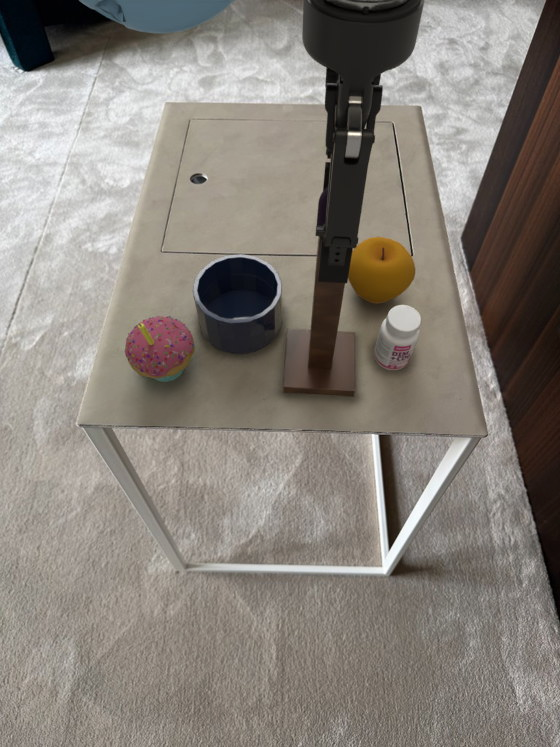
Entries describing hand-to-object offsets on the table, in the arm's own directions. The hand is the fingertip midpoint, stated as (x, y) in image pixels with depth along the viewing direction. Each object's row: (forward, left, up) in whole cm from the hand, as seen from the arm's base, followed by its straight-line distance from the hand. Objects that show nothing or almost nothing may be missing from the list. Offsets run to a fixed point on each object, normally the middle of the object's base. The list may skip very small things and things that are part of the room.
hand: (333, 248), depth 53 cm
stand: (0, 0, -21) cm, 21 cm away
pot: (-11, +6, -21) cm, 25 cm away
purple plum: (0, 0, +3) cm, 3 cm away
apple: (+8, +12, -22) cm, 26 cm away
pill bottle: (+10, +2, -22) cm, 24 cm away
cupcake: (-20, -2, -22) cm, 29 cm away
